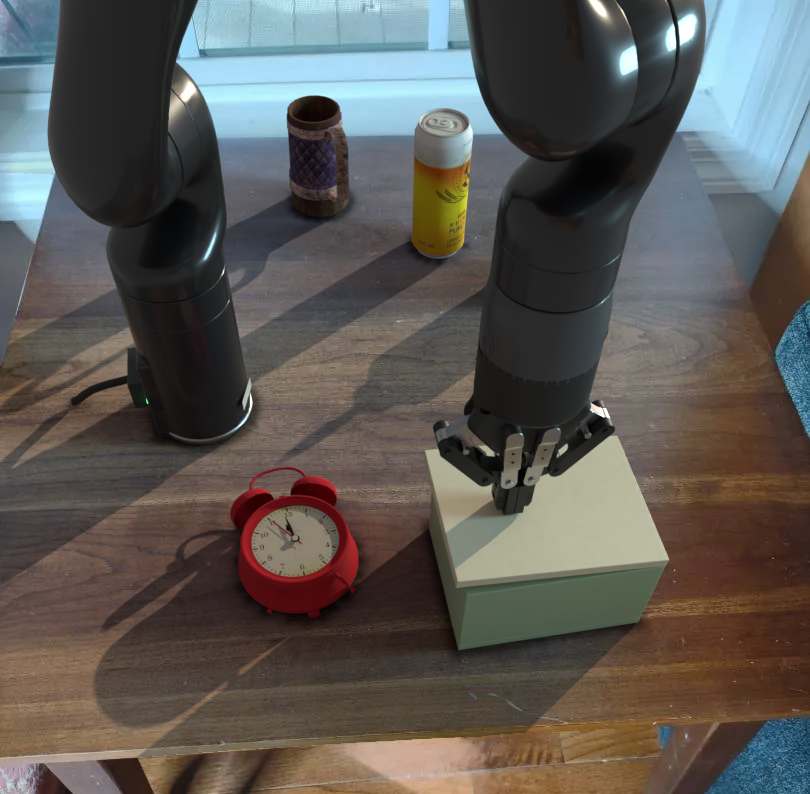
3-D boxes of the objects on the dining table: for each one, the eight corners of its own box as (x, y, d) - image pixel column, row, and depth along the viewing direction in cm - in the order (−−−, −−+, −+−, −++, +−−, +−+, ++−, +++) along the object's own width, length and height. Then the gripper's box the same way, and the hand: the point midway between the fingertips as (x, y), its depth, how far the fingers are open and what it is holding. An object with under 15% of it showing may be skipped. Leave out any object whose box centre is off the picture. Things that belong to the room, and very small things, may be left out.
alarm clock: (249, 619, 68) (209, 455, 73) (255, 640, 74) (218, 487, 79) (375, 586, 70) (328, 429, 75) (372, 610, 76) (328, 462, 81)
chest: (458, 650, 71) (466, 595, 64) (428, 527, 78) (433, 465, 71) (638, 622, 73) (666, 566, 66) (593, 504, 80) (614, 442, 73)
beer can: (458, 265, 99) (468, 141, 87) (406, 257, 100) (409, 133, 87) (467, 233, 103) (478, 109, 90) (416, 226, 103) (421, 102, 91)
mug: (282, 194, 106) (271, 97, 96) (334, 178, 108) (329, 83, 98) (317, 240, 101) (309, 144, 91) (371, 223, 103) (369, 127, 93)
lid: (455, 588, 63) (457, 581, 62) (423, 456, 70) (424, 449, 69) (665, 566, 66) (669, 559, 65) (614, 442, 73) (617, 435, 72)
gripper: (625, 282, 55) (577, 457, 69) (422, 304, 54) (416, 479, 68) (666, 364, 51) (606, 532, 65) (447, 391, 49) (435, 557, 64)
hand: (509, 505), depth 66 cm, fingers closed
